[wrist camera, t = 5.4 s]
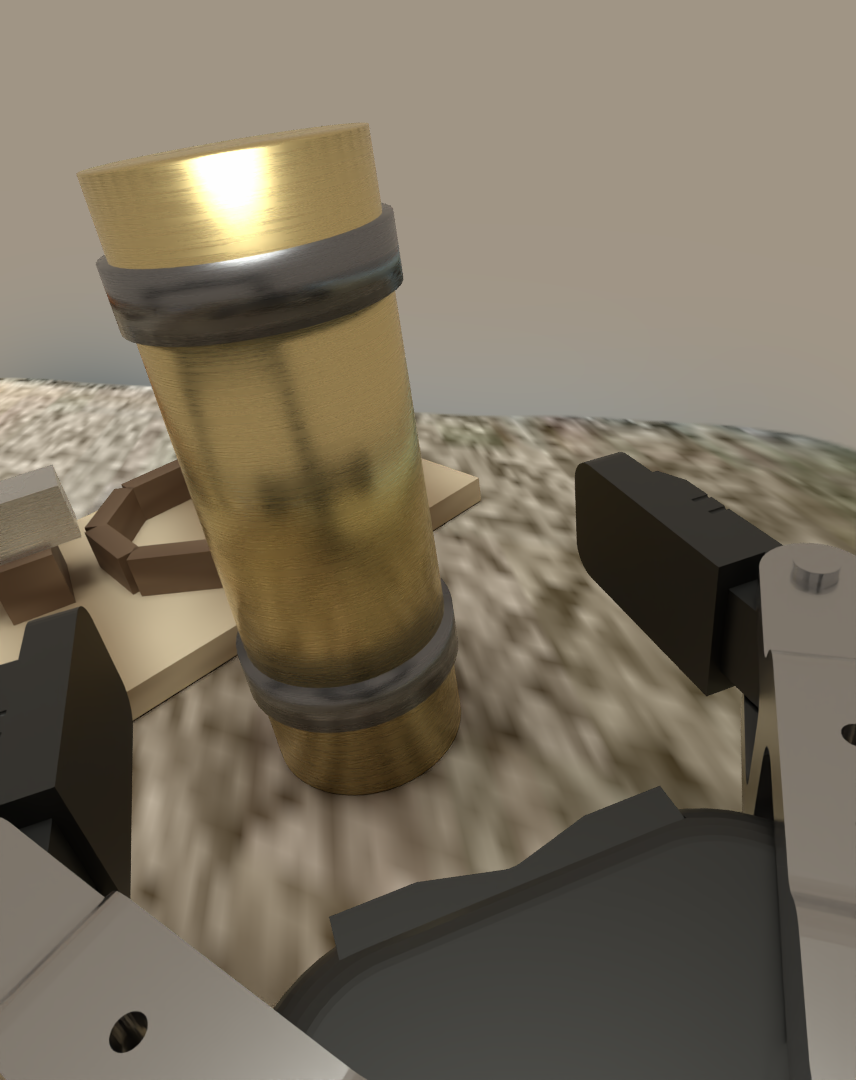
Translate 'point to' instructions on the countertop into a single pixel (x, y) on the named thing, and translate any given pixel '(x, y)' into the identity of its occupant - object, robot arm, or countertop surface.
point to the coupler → (294, 433)
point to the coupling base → (187, 619)
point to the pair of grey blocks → (34, 514)
